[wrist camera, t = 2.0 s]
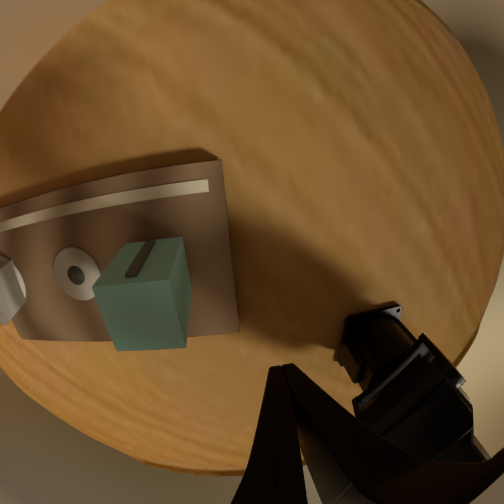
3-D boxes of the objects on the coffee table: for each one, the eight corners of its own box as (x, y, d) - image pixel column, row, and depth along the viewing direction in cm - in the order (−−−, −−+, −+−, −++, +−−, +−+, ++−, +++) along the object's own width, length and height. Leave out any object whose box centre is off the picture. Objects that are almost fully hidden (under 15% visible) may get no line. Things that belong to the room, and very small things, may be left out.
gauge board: (221, 159, 17) (223, 163, 12) (238, 322, 22) (245, 366, 17) (-19, 215, 15) (-53, 233, 10) (23, 332, 20) (1, 362, 15)
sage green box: (182, 233, 17) (168, 275, 12) (192, 290, 19) (186, 347, 13) (124, 241, 17) (90, 283, 11) (139, 295, 18) (116, 350, 13)
